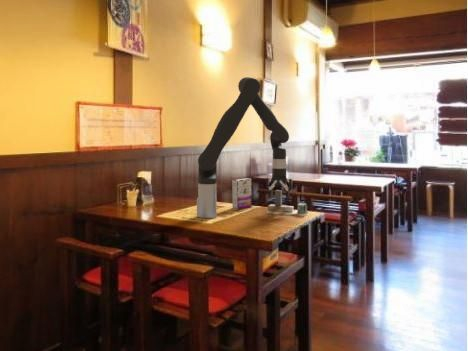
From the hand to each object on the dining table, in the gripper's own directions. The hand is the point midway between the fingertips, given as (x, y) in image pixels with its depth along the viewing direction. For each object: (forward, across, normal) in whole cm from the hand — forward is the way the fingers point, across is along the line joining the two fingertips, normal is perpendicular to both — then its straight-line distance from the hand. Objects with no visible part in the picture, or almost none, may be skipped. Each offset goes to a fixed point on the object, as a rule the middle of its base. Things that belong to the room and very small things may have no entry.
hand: (279, 197), depth 216 cm
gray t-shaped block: (+7, +1, 0) cm, 7 cm away
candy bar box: (+8, -24, +6) cm, 26 cm away
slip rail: (+8, +5, 0) cm, 9 cm away
